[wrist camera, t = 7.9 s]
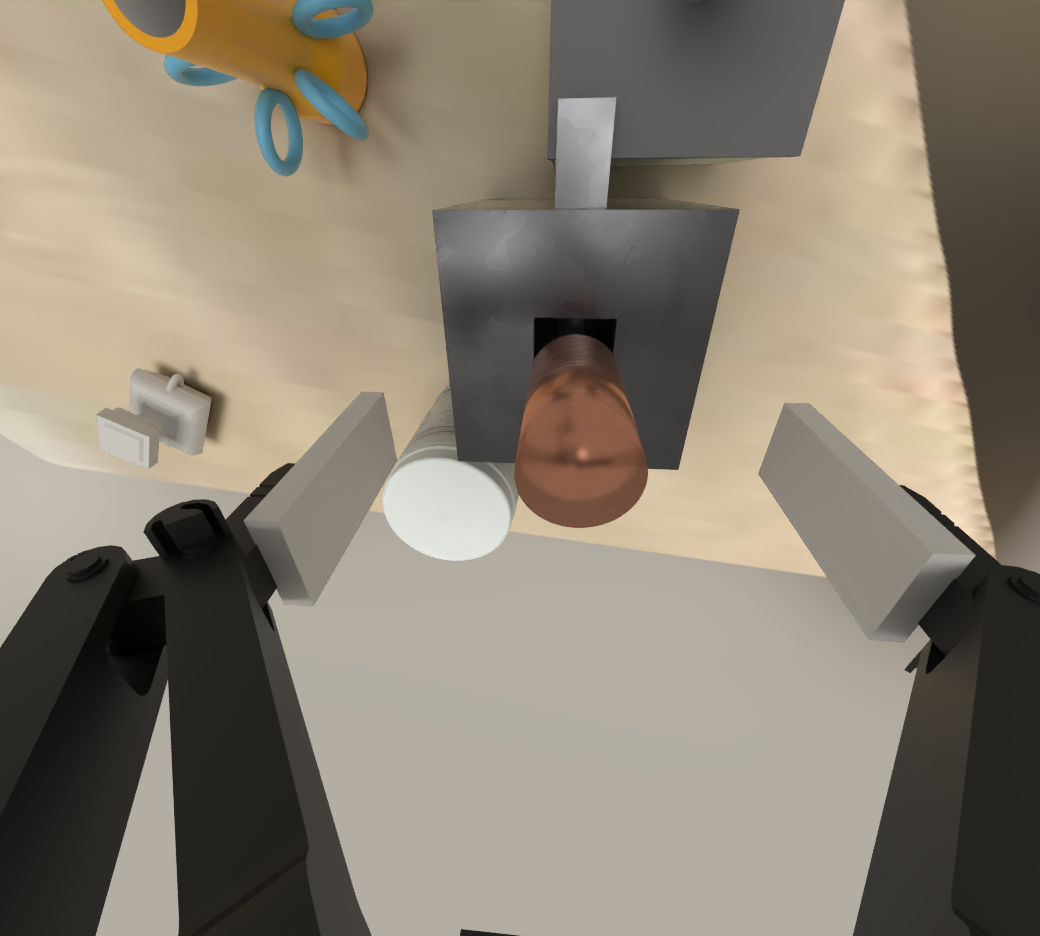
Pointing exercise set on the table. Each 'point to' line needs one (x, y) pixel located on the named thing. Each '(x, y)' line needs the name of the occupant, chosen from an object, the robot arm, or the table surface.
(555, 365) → the copper lever handle
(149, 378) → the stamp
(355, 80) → the orange looped holder
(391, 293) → the table surface
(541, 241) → the grey box
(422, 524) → the supplement tub
